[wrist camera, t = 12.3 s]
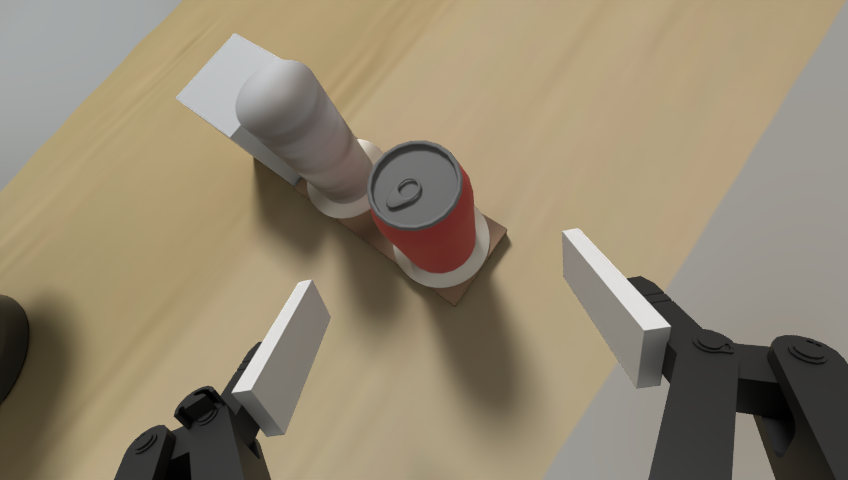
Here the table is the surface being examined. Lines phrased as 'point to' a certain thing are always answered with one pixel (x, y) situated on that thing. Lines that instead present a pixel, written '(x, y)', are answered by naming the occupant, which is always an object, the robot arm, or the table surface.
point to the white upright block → (233, 98)
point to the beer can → (424, 205)
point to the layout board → (339, 165)
